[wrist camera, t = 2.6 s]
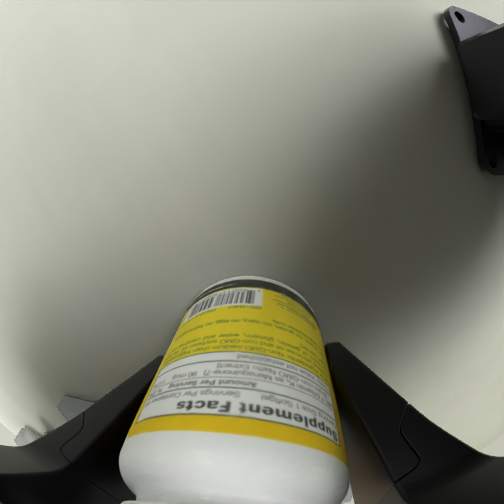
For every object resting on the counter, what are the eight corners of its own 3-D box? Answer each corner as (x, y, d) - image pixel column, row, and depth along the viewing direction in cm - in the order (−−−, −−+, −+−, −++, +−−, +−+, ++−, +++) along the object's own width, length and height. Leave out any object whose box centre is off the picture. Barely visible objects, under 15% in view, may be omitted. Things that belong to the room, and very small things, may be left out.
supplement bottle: (272, 392, 11) (262, 584, 3) (168, 345, 10) (81, 541, 2) (345, 310, 9) (420, 564, 1) (222, 243, 8) (75, 560, 1)
